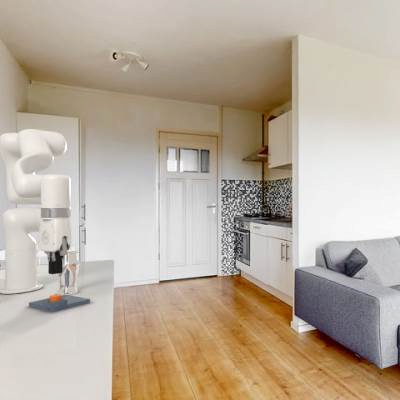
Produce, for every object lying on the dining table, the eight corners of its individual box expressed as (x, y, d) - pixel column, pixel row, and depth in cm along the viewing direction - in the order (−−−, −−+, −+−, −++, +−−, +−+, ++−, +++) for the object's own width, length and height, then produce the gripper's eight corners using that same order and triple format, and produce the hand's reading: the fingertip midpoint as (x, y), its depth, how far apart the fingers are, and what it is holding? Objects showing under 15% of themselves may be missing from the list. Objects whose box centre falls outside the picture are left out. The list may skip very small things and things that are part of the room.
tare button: (47, 301, 105) (47, 296, 105) (58, 299, 107) (58, 293, 107) (53, 303, 103) (52, 297, 103) (63, 300, 106) (63, 294, 106)
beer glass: (70, 295, 122) (70, 253, 122) (51, 295, 122) (51, 253, 122) (83, 290, 129) (83, 251, 129) (65, 290, 129) (65, 251, 129)
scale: (25, 307, 108) (25, 298, 108) (65, 298, 118) (65, 289, 118) (50, 313, 101) (50, 303, 101) (90, 303, 112) (90, 294, 112)
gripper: (29, 214, 106) (29, 273, 106) (55, 215, 99) (55, 278, 99) (55, 213, 113) (55, 269, 113) (82, 214, 106) (82, 273, 106)
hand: (55, 273), depth 106 cm, fingers closed
